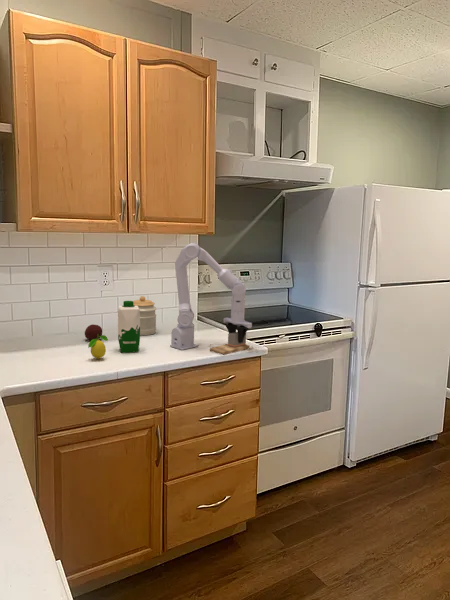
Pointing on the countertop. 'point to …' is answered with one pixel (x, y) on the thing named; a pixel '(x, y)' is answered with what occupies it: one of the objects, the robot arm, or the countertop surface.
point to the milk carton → (128, 327)
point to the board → (228, 349)
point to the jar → (146, 316)
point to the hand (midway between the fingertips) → (236, 341)
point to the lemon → (98, 347)
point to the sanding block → (235, 339)
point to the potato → (93, 332)
